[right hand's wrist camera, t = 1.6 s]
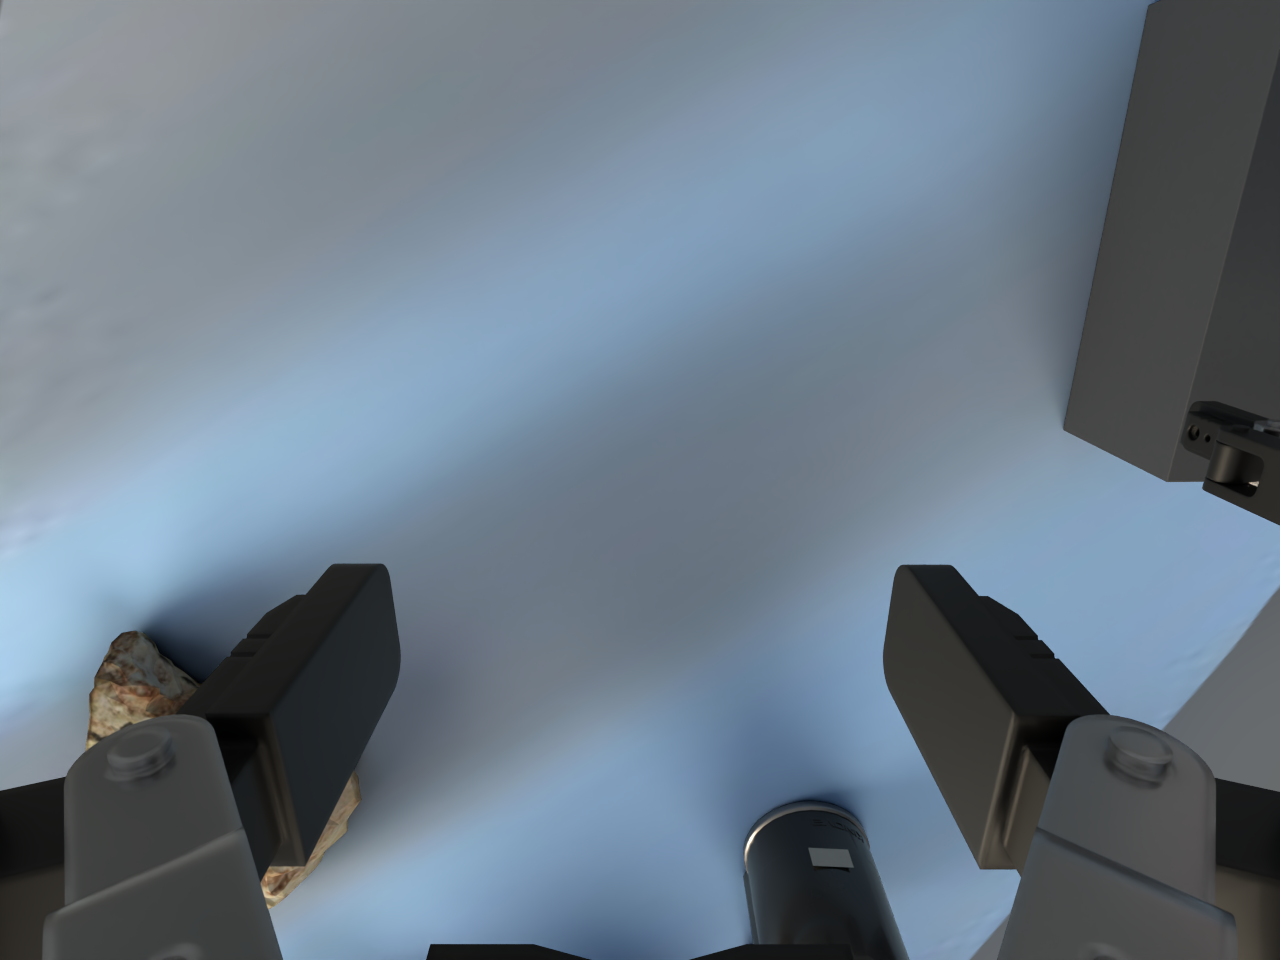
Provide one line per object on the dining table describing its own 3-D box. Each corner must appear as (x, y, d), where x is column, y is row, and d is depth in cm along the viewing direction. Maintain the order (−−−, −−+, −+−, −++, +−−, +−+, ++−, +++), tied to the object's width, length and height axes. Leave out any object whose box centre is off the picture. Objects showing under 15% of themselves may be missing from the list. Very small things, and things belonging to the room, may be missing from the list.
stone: (371, 786, 46) (245, 1027, 53) (400, 728, 51) (282, 953, 58) (72, 663, 43) (-19, 935, 50) (137, 614, 48) (47, 866, 55)
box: (1147, 5, 35) (1308, -63, 27) (1266, 3, 35) (1464, -66, 27) (1062, 430, 43) (1166, 482, 35) (1160, 429, 43) (1288, 481, 34)
